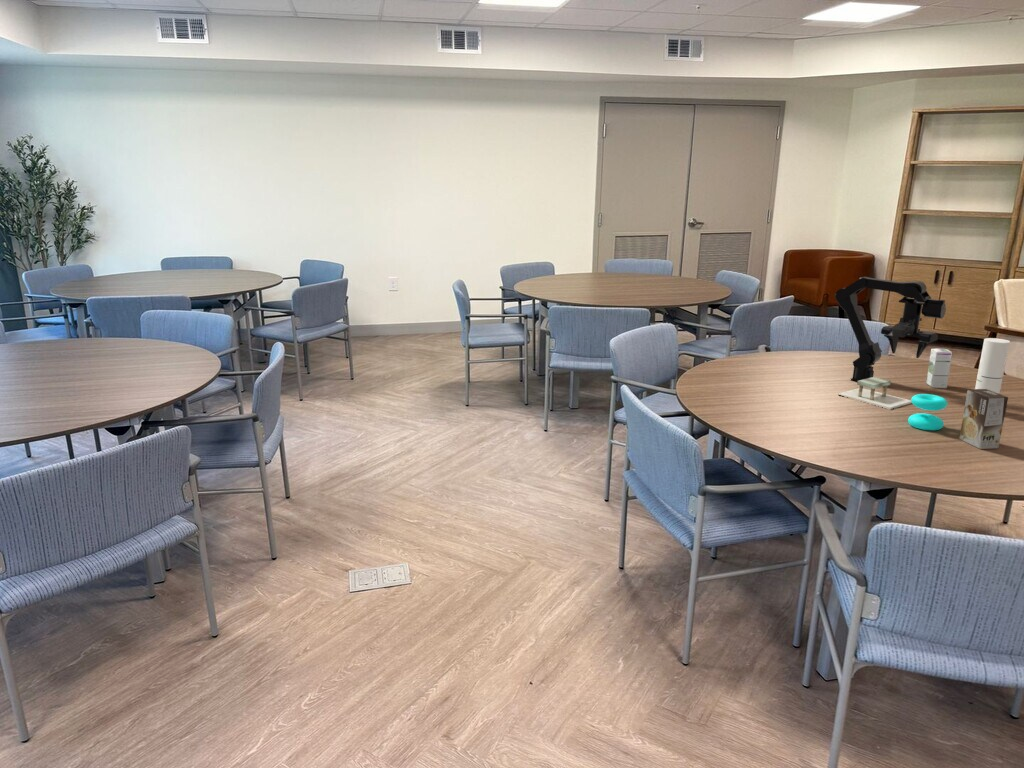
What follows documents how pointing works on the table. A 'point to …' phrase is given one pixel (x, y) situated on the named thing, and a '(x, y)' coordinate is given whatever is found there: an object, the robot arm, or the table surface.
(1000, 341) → the cylindrical container
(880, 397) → the white rectangular board
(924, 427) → the donuts
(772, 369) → the table surface
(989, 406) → the coffee box
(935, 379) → the syrup box
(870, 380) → the stool
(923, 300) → the robot arm
